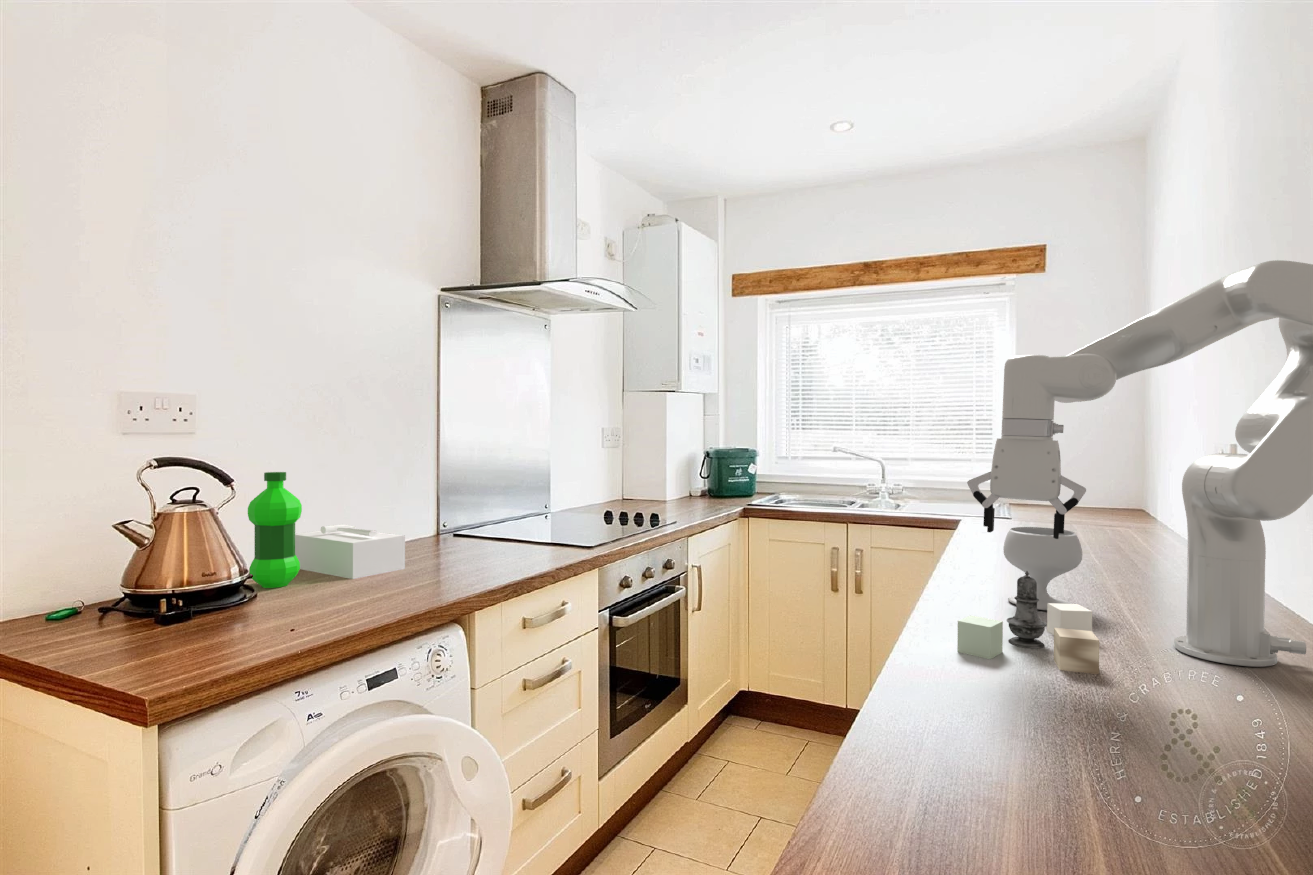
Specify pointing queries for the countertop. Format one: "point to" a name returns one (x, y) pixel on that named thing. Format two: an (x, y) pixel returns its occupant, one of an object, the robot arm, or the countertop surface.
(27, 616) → the countertop surface
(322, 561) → the tissue box
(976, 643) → the sage painted cube
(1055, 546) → the chalice
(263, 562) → the plastic bottle
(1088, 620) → the cream painted cube
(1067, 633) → the beech cube
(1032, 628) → the salt shaker
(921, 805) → the countertop surface
